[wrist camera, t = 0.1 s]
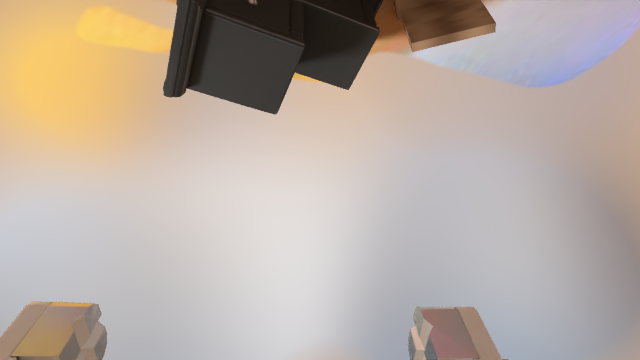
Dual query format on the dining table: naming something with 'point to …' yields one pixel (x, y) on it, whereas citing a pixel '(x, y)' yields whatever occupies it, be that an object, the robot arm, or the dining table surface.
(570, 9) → the dining table surface
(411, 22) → the shelf
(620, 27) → the dining table surface
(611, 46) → the dining table surface
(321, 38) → the black drawer cabinet
